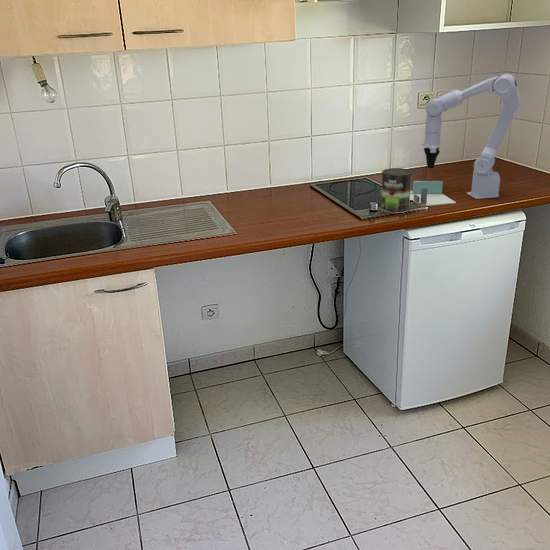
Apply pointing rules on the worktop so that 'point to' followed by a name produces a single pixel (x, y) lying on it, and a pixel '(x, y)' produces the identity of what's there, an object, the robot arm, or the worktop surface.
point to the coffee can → (396, 189)
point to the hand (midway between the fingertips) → (430, 167)
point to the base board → (433, 199)
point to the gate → (428, 186)
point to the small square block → (422, 196)
